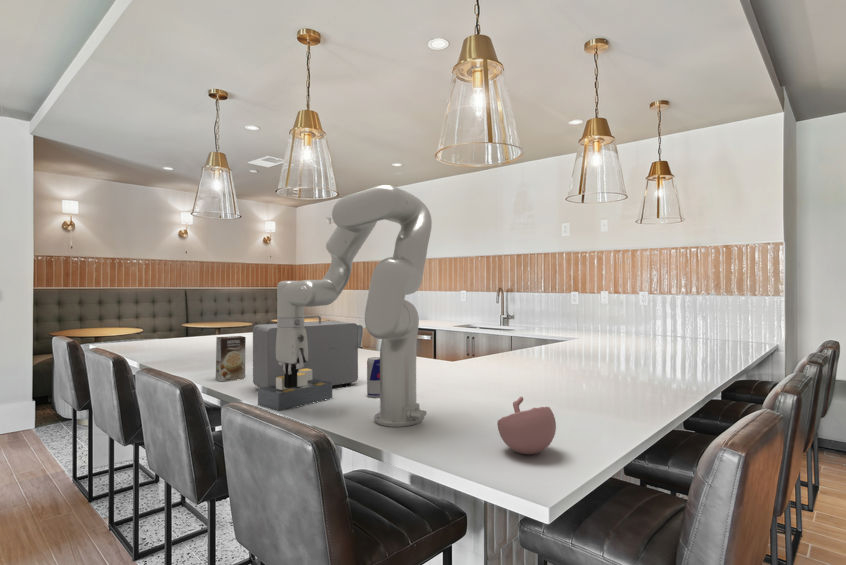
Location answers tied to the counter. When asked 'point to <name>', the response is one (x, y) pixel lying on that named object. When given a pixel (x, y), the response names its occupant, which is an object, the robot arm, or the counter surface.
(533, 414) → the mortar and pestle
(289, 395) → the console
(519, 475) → the counter surface
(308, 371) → the switch
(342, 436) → the counter surface
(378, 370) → the energy drink
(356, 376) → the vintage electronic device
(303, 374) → the switch
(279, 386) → the switch
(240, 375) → the coffee box
